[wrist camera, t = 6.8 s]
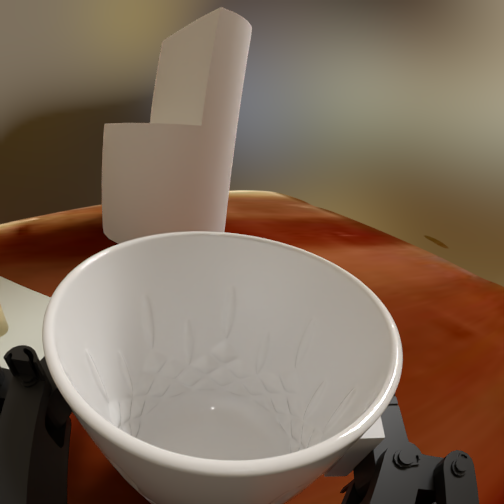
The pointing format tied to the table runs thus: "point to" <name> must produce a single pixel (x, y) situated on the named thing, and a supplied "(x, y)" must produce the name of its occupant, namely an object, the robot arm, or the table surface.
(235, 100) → the cylinder
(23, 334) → the standoff plate
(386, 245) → the table surface
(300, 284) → the white cup
